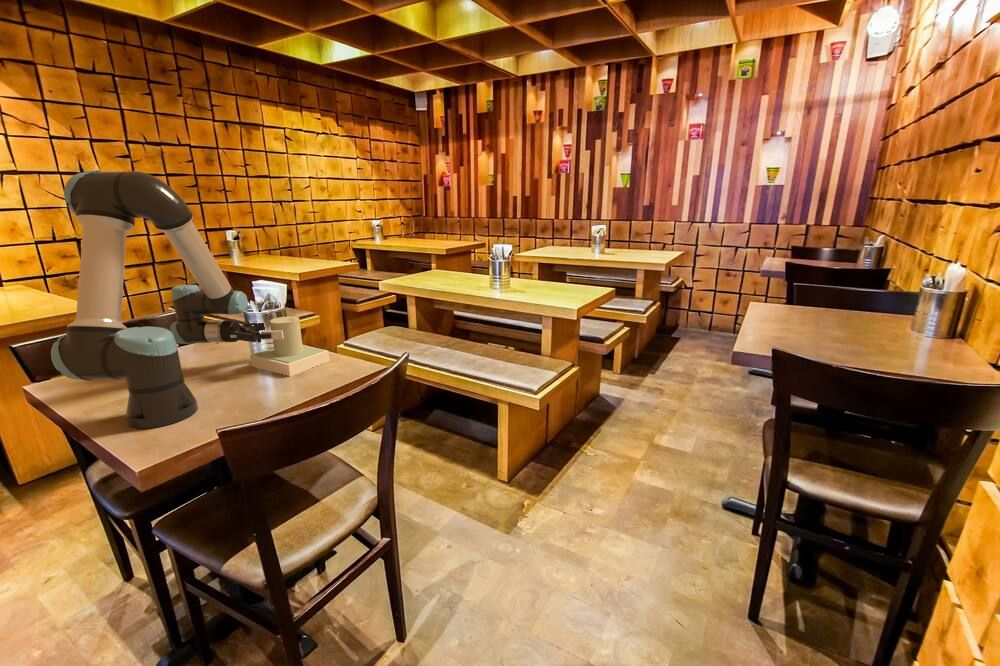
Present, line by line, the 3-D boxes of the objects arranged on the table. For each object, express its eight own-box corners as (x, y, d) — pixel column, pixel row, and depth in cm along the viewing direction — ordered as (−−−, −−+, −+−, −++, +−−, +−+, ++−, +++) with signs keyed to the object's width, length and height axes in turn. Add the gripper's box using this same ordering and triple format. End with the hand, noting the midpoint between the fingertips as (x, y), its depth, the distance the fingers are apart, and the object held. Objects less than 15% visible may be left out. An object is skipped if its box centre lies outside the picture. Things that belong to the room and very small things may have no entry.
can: (296, 356, 150) (291, 321, 147) (269, 356, 150) (263, 321, 147) (308, 347, 159) (304, 315, 156) (282, 347, 159) (277, 314, 156)
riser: (329, 361, 158) (328, 349, 157) (290, 376, 145) (288, 363, 143) (291, 353, 167) (290, 341, 166) (251, 366, 154) (249, 354, 153)
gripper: (242, 331, 163) (302, 329, 166) (206, 353, 140) (277, 351, 142) (239, 311, 161) (300, 309, 163) (202, 330, 138) (274, 328, 140)
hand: (290, 329), depth 153 cm, fingers open, 13 cm apart
